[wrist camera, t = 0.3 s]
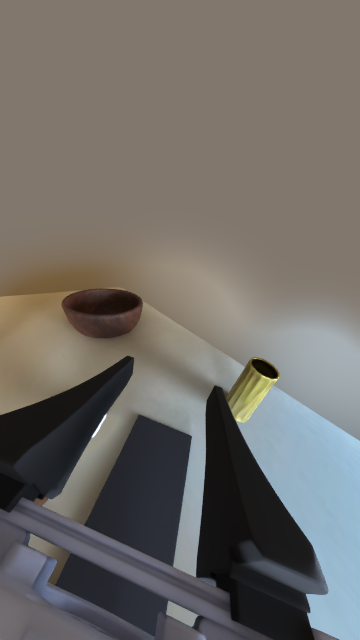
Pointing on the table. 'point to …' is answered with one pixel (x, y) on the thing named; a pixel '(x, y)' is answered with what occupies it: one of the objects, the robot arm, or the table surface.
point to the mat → (135, 521)
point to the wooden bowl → (103, 312)
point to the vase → (251, 388)
